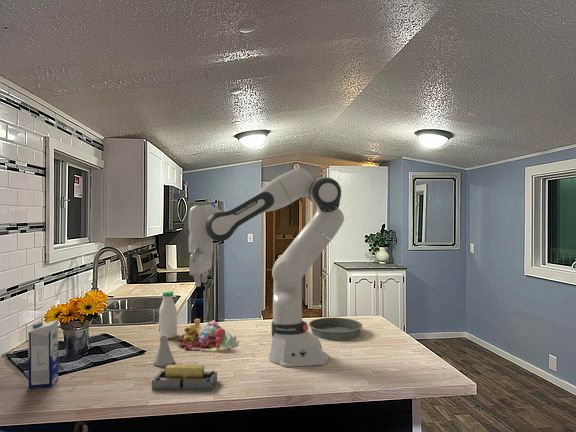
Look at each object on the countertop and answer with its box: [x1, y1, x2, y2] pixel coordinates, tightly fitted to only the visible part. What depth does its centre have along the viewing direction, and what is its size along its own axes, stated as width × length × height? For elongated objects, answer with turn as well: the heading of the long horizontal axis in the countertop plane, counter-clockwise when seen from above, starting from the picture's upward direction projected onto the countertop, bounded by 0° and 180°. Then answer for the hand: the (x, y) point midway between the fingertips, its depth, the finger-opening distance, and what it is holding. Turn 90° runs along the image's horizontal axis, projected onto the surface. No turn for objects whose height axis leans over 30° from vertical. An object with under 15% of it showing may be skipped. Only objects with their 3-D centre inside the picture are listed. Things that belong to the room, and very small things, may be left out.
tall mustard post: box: [164, 364, 205, 384], centre depth 140 cm, size 12×3×5 cm, turn 87°
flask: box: [153, 336, 176, 368], centre depth 159 cm, size 7×7×10 cm
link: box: [151, 369, 183, 391], centre depth 140 cm, size 9×8×3 cm
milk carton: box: [27, 319, 59, 389], centre depth 141 cm, size 7×7×20 cm
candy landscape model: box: [177, 318, 238, 353], centre depth 185 cm, size 25×24×9 cm
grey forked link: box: [182, 370, 218, 392], centre depth 140 cm, size 9×8×3 cm
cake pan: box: [308, 317, 363, 341], centre depth 199 cm, size 25×25×4 cm
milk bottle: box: [158, 290, 178, 339], centre depth 194 cm, size 8×8×20 cm
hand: (201, 284), depth 162 cm, fingers open, 8 cm apart
